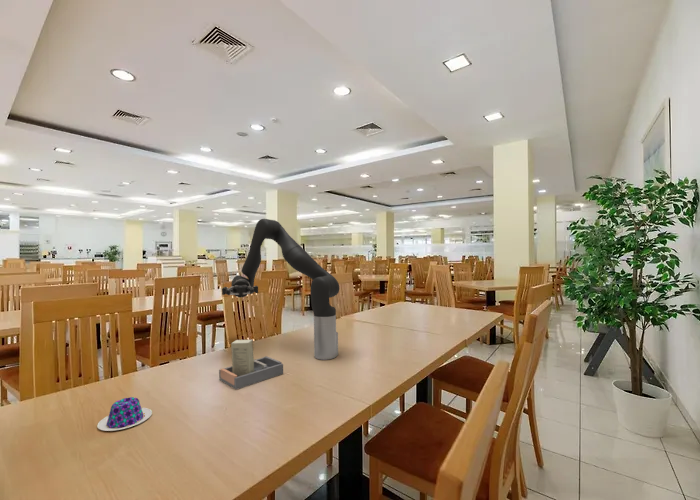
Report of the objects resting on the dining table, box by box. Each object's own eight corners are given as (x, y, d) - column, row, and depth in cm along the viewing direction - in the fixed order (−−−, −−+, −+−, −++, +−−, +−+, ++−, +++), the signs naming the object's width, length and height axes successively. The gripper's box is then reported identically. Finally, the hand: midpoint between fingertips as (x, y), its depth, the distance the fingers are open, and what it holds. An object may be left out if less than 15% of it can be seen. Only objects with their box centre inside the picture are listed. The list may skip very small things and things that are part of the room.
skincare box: (254, 374, 116) (254, 339, 116) (249, 378, 112) (249, 342, 112) (236, 373, 116) (236, 339, 116) (231, 378, 112) (230, 342, 112)
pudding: (124, 409, 94) (124, 390, 94) (162, 411, 92) (162, 392, 92) (84, 431, 82) (84, 410, 82) (126, 435, 80) (126, 414, 80)
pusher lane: (265, 366, 127) (264, 355, 127) (283, 373, 118) (283, 362, 118) (219, 379, 114) (219, 368, 114) (236, 389, 105) (235, 377, 105)
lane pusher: (253, 367, 122) (253, 358, 122) (266, 373, 115) (266, 364, 115) (250, 368, 121) (250, 359, 121) (263, 374, 114) (263, 365, 114)
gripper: (224, 280, 145) (220, 283, 130) (257, 278, 149) (258, 281, 134) (224, 297, 145) (221, 302, 130) (258, 295, 149) (258, 300, 134)
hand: (239, 292), depth 132 cm, fingers open, 8 cm apart
